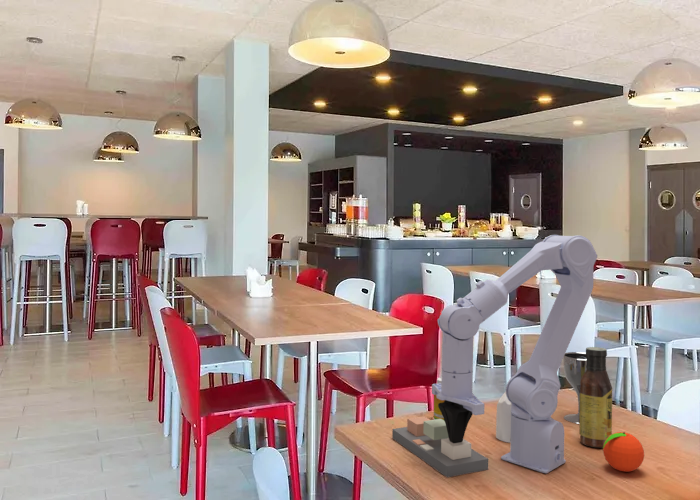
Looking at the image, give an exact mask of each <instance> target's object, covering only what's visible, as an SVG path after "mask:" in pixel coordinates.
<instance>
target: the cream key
mask: <svg viewBox="0 0 700 500" xmlns="http://www.w3.org/2000/svg"><path fill="white" fill-rule="evenodd" d="M471 449H472V443H471V442H470V441H468V440H466V439H464V438H463V441H462V442H459V443H452V442H450V441H449V438H446V439H441V453H443V454H445V455H446V456H448V457H449V458H451V459H452V460H456V459H461V458H467V457H471Z"/></svg>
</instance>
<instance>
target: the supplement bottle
mask: <svg viewBox="0 0 700 500" xmlns="http://www.w3.org/2000/svg"><path fill="white" fill-rule="evenodd" d="M436 379H437V380H436V381H437V382H436V384H438V383H441V384H442V376H441V377H438V378H436ZM444 401H445V400H440V399H438V398H436V395H434V394H433V420H435V419H442V420H444V418H443V415H442V413H441V411H440V409H439V407H438V404H439V403H443V402H444Z"/></svg>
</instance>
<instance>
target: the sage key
mask: <svg viewBox="0 0 700 500" xmlns="http://www.w3.org/2000/svg"><path fill="white" fill-rule="evenodd" d="M423 434H425V435H427V436H428V437H430V438H431V439H433V440H439V439H445V438H449V437H448V432H447V428H446V424H445V421H444V420H442V419H435V420H434V419H429V420H428V421H424V428H423Z"/></svg>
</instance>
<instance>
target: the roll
mask: <svg viewBox="0 0 700 500" xmlns="http://www.w3.org/2000/svg"><path fill="white" fill-rule="evenodd" d="M495 421H496V424H495V425H496V426H495V438H496V439H497V440H499V441H502V442H504V443H509V444H510V440H511V402H510V401H509V400H508V398H507V396H506V391H504V393H503V394H502V395H501V397H500V398H499V399H498V402H497V404H496V419H495Z"/></svg>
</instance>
